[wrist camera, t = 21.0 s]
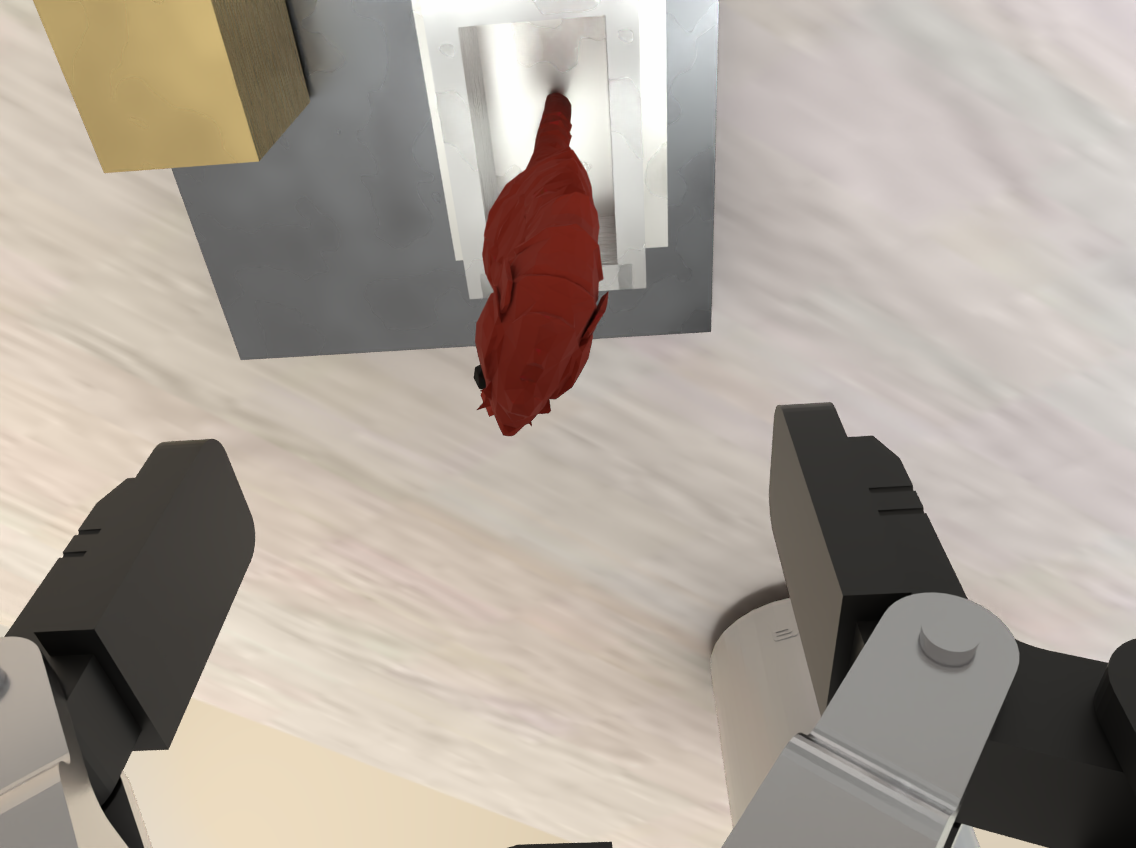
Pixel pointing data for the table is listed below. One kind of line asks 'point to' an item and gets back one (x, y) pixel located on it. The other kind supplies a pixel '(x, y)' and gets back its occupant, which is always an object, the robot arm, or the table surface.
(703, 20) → the press frame
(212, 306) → the table surface
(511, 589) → the table surface
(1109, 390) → the table surface
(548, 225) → the toy
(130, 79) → the slider
